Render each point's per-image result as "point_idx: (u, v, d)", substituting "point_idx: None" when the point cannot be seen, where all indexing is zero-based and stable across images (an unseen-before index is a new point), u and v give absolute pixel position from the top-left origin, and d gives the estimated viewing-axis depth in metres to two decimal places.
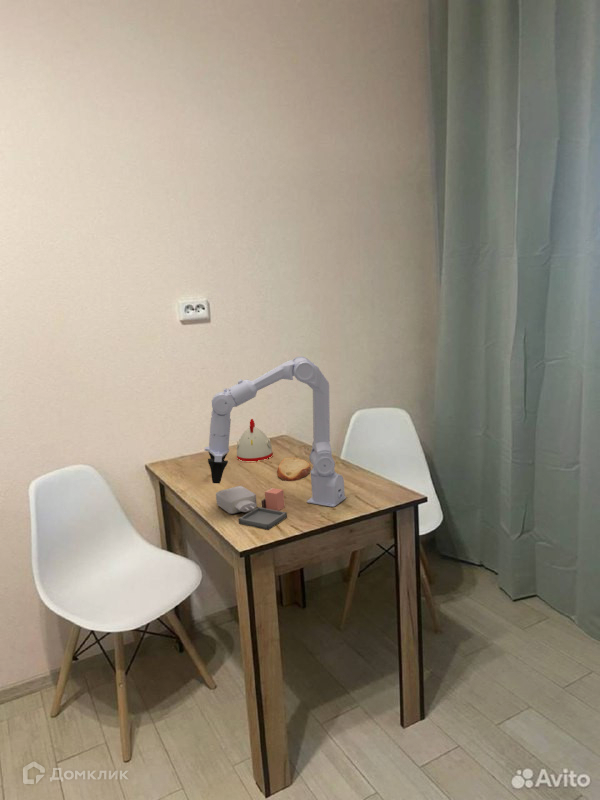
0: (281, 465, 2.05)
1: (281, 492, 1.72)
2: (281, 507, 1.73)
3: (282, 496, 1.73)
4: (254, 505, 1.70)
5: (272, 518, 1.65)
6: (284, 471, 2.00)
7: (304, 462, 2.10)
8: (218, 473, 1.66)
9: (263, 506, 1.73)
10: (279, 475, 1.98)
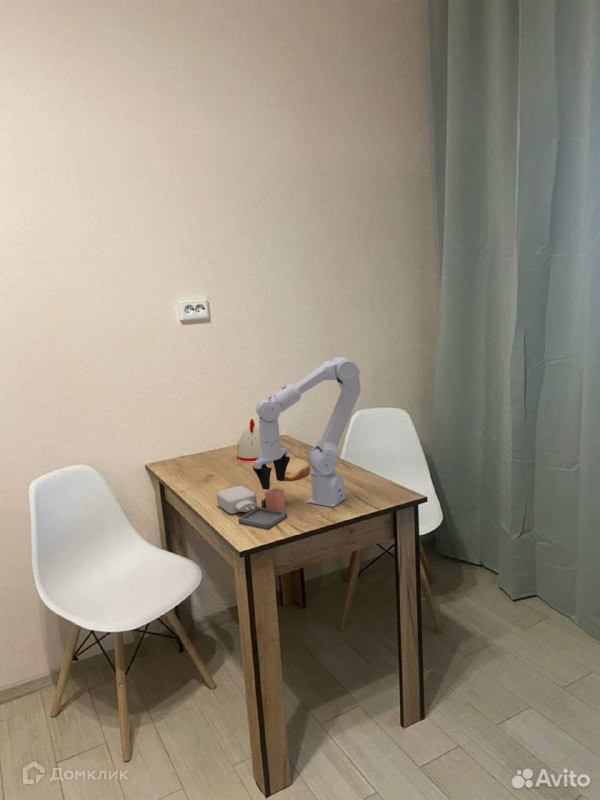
0: None
1: (281, 492, 1.72)
2: (281, 507, 1.73)
3: (282, 496, 1.73)
4: (255, 505, 1.70)
5: (272, 518, 1.65)
6: None
7: (303, 462, 2.10)
8: (265, 479, 1.68)
9: (263, 506, 1.73)
10: None
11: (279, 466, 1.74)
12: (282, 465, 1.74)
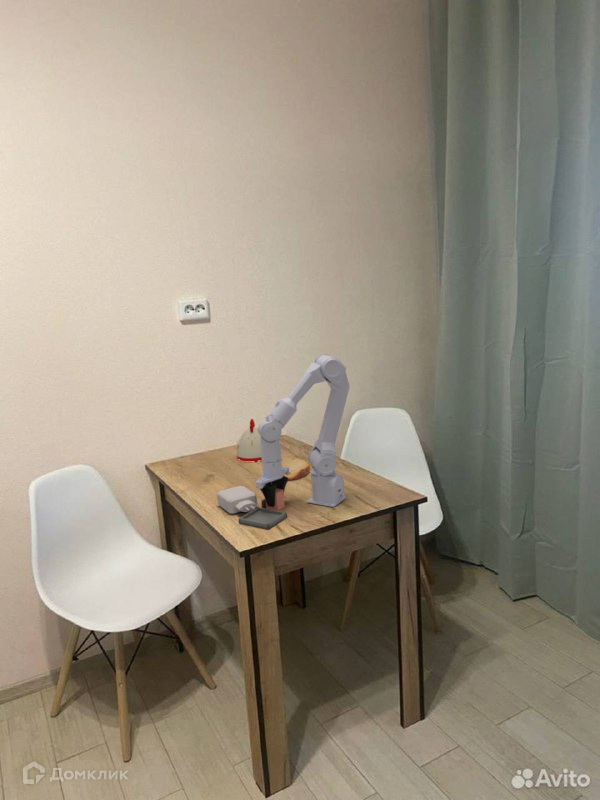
0: None
1: (281, 492, 1.72)
2: (281, 507, 1.73)
3: (282, 496, 1.73)
4: (255, 505, 1.70)
5: (272, 518, 1.65)
6: None
7: (303, 462, 2.10)
8: (270, 497, 1.70)
9: (263, 506, 1.73)
10: None
11: (277, 487, 1.74)
12: (280, 486, 1.73)
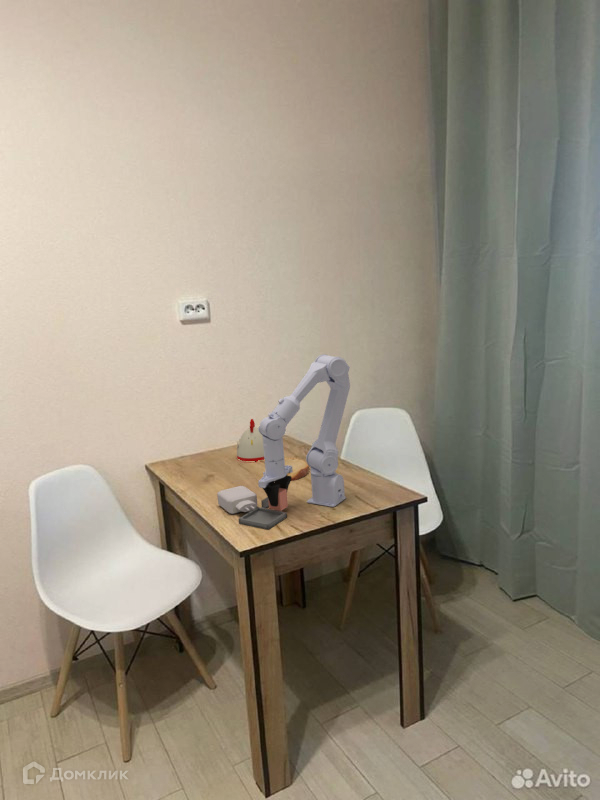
0: None
1: (284, 491, 1.69)
2: (284, 506, 1.69)
3: (285, 495, 1.70)
4: (255, 505, 1.70)
5: (272, 518, 1.65)
6: None
7: (303, 462, 2.10)
8: (273, 496, 1.67)
9: (263, 506, 1.73)
10: None
11: (280, 486, 1.71)
12: (283, 485, 1.70)
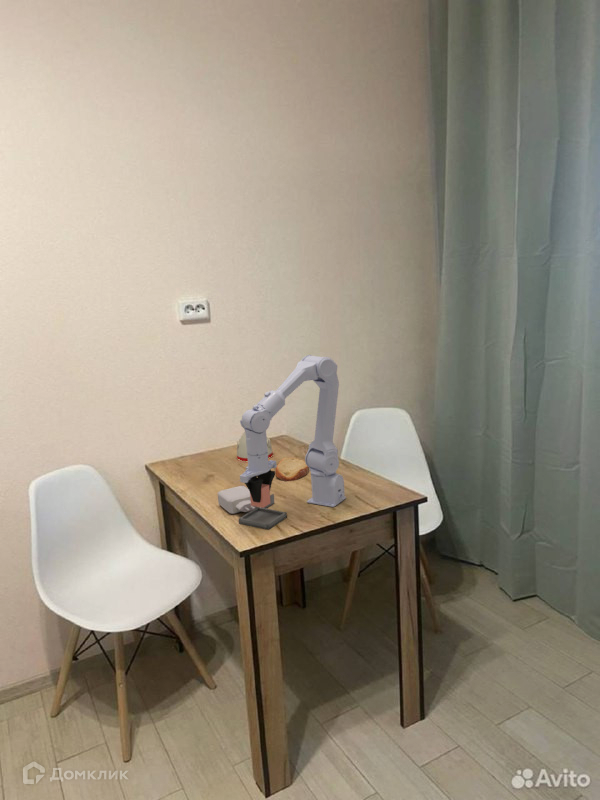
0: (280, 465, 2.05)
1: (267, 487, 1.63)
2: (267, 503, 1.63)
3: (268, 491, 1.63)
4: None
5: (272, 518, 1.65)
6: (283, 471, 2.00)
7: (302, 462, 2.10)
8: (256, 492, 1.61)
9: None
10: (277, 475, 1.98)
11: (264, 481, 1.65)
12: (267, 480, 1.64)
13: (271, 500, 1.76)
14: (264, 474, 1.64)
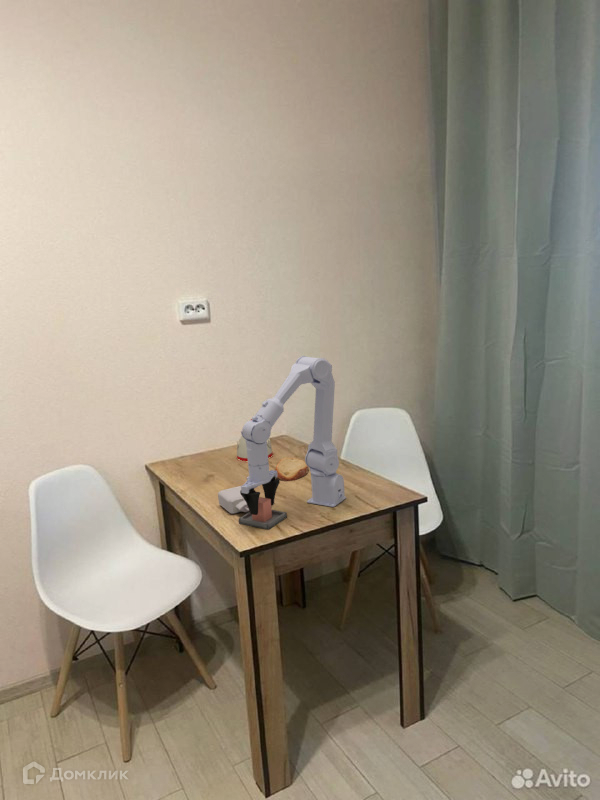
0: (279, 465, 2.05)
1: (268, 501, 1.64)
2: (268, 517, 1.64)
3: (269, 506, 1.64)
4: None
5: (272, 518, 1.65)
6: (282, 471, 2.00)
7: (302, 462, 2.10)
8: (253, 504, 1.60)
9: None
10: (277, 475, 1.98)
11: (268, 489, 1.67)
12: (271, 488, 1.66)
13: None
14: (268, 482, 1.66)
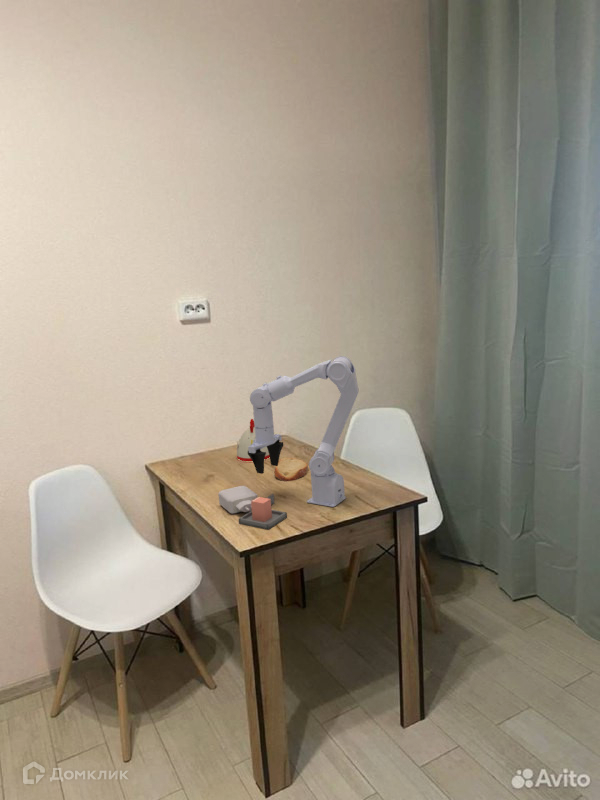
0: (279, 466, 2.05)
1: (268, 501, 1.64)
2: (268, 517, 1.64)
3: (269, 506, 1.64)
4: None
5: (272, 518, 1.65)
6: (282, 471, 2.00)
7: (301, 462, 2.10)
8: (259, 464, 1.74)
9: None
10: (276, 475, 1.98)
11: (273, 451, 1.81)
12: (276, 450, 1.80)
13: (271, 500, 1.76)
14: (273, 445, 1.80)
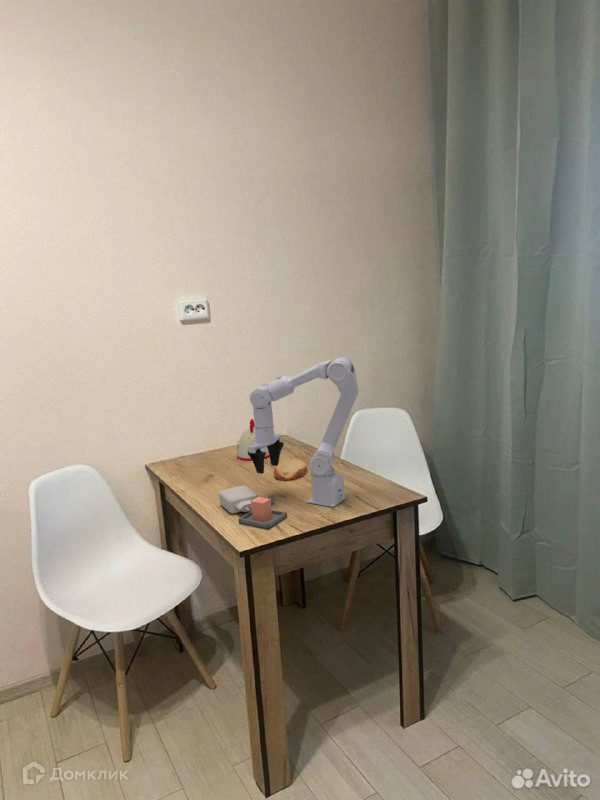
0: (278, 466, 2.05)
1: (268, 501, 1.64)
2: (268, 517, 1.64)
3: (269, 506, 1.64)
4: None
5: (272, 518, 1.65)
6: (281, 471, 2.01)
7: (301, 462, 2.10)
8: (259, 464, 1.74)
9: None
10: (276, 475, 1.98)
11: (273, 451, 1.81)
12: (276, 450, 1.80)
13: (271, 500, 1.76)
14: (273, 445, 1.80)
